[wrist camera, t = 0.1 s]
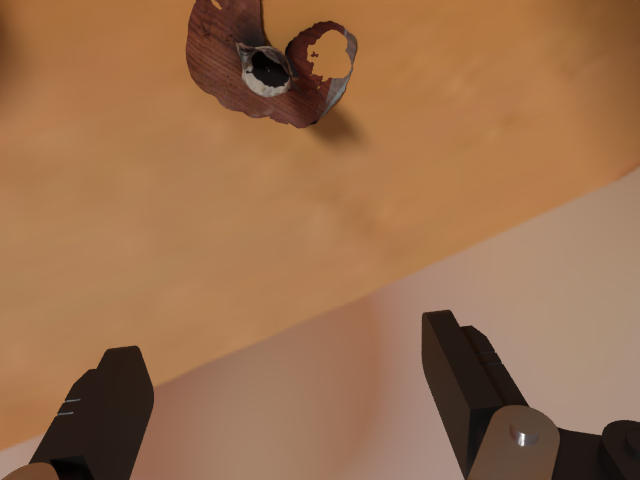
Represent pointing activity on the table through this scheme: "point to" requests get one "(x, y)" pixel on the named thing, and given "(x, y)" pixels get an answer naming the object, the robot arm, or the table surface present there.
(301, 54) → the dark brown curved piece
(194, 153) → the table surface
